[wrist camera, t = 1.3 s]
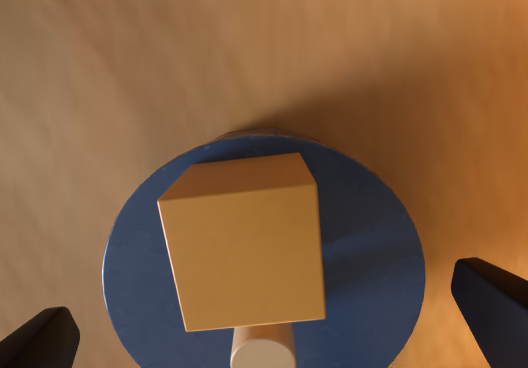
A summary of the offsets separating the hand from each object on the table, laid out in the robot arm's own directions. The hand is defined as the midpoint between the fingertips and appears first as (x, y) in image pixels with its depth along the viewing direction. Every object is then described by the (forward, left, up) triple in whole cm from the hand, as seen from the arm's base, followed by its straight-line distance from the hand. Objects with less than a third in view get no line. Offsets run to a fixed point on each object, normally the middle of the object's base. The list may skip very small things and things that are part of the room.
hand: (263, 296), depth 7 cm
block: (0, +1, -7) cm, 7 cm away
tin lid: (-5, +1, -7) cm, 9 cm away
